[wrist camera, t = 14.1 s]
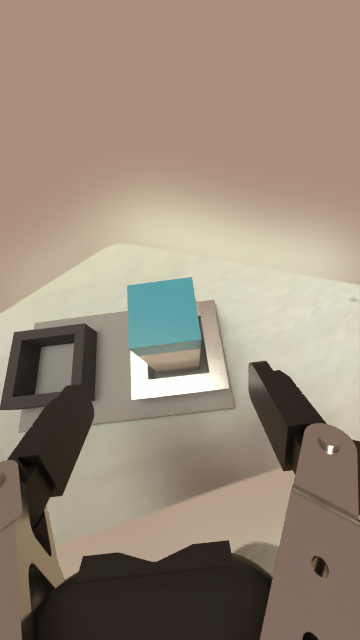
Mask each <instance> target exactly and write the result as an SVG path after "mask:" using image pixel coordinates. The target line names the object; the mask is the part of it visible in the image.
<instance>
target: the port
mask: <svg viewBox="0 0 360 640" xmlns="http://www.w3.org/2000/svg"><path fill="white" fill-rule="evenodd" d="M196 308H197V315H198V321H199V327H200V331H201V338H202V344H203V351H204V358H205V364H206V371H207V373H203V374H195V375H187V376H178V377H170V378H162V379H154V369H153V368H151V367H150V366H149V365H148V364H147V363H145V362H144V361H143V360H142V359H140V358H139V357H138V356H137V355H136V354H134V353H133V352H132V351H131V388H132V400H149V399H157V398H166V397H174V396H182V395H191V394H199V393H208V392H216V391H224V390H227V389H229V383H228V378H227V373H226V367H225V362H224V357H223V351H222V346H221V340H220V335H219V330H218V324H217V319H216V314H215V308H214V303H213V300H210V301H203V302H196Z"/></svg>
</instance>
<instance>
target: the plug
mask: <svg viewBox="0 0 360 640" xmlns="http://www.w3.org/2000/svg"><path fill="white" fill-rule="evenodd" d="M127 290H128V342H129V349H130V350H131V351H132V352H133V353H134V354H136V355H137V356H138V357H139V358H140V359H142V360H143V361H144V362H145V363H147V364H148V365H149V366H150V367H151V368H153V369H154V370H155V371H156V372H158V373H159V374H160V375H161V376H163V375H171V374H180V373H188V372H196V371H199V361H200V349H201V335H200V328H199V321H198V315H197V308H196V301H195V295H194V288H193V281H192V277H190V278H182V279H174V280H167V281H159V282H151V283H144V284H136V285H128V286H127Z"/></svg>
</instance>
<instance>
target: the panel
mask: <svg viewBox="0 0 360 640" xmlns="http://www.w3.org/2000/svg"><path fill="white" fill-rule="evenodd" d="M202 302H203V301H202ZM213 303H214V308H215V314H216V319H217V324H218V330H219V335H220V340H221V346H222V351H223V357H224V362H225V367H226V373H227V378H228V383H229V389H227V390H224V391H216V392H208V393H199V394H191V395H182V396H174V397H166V398H157V399H149V400H132V388H131V350H130V349H129V342H128V311H125V312H117V313H109V314H102V315H94V316H86V317H78V318H71V319H63V320H55V321H47V322H40V323H35V326H34V330H36V329H44V328H51V327H59V326H67V325H75V324H83V323H85V324H87V325H88V326H89V327H91V328H92V329H93V330H95V331H96V332H97V349H96V377H95V401H92V404H93V407H94V419H93V422H92V424H99V423H107V422H116V421H124V420H133V419H141V418H150V417H158V416H167V415H176V414H184V413H193V412H201V411H210V410H218V409H227V408H235V407H234V402H233V396H232V391H231V386H230V380H229V375H228V370H227V364H226V359H225V354H224V348H223V343H222V338H221V333H220V327H219V322H218V317H217V311H216V306H215V301H214V300H213ZM199 328H200V327H199ZM200 335H201V331H200ZM73 350H74V343H71V344H64V345H56V346H48V347H41V352H40V360H39V367H38V375H37V382H36V390H35V395H36V394H44V393H52V392H60V391H62V390H63V389H64V387H65V386H67V385H71V377H72V363H73ZM203 373H207V371H206V364H205V358H204V351H203V344H202V338H201V349H200V361H199V371H196V372H188V373H180V374H171V375H163V376H161V375H160V374H159V373H158V372H156V371H155V370H154V379H162V378H170V377H178V376H187V375H195V374H203ZM43 409H44V407H39V408H31V409H22V412H21V419H20V426H19V432H18V433H22V432H27V431H28V430H29V428H30V427H32V424H33V423H34V421H35V420H36V419H37V418H38V416H39V414H40V413H41V412H42V410H43Z"/></svg>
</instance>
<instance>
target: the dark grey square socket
mask: <svg viewBox="0 0 360 640" xmlns="http://www.w3.org/2000/svg"><path fill="white" fill-rule="evenodd" d="M71 343H74V350H73V363H72V377H71V385H74V384H84V385H85V386H86V388H87V391H88V394H89V396H90V399H91V401H95V377H96V349H97V332H96V331H95V330H93V329H92V328H91V327H89V326H88V325H87V324H85V323H83V324H75V325H67V326H59V327H51V328H44V329H36V330H28V331H20V332H14V335H13V341H12V346H11V351H10V357H9V362H8V368H7V373H6V378H5V384H4V389H3V394H2V400H1V405H0V410H18V409H31V408H39V407H45V406H46V405H47V404H49V403H50V402H51V401H52V400H53V399H54V398H57V397H58V396H59V395H60V393H61V392H62V391H60V392H52V393H44V394H36V395H35V390H36V382H37V375H38V367H39V360H40V352H41V347H48V346H56V345H64V344H71Z"/></svg>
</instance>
